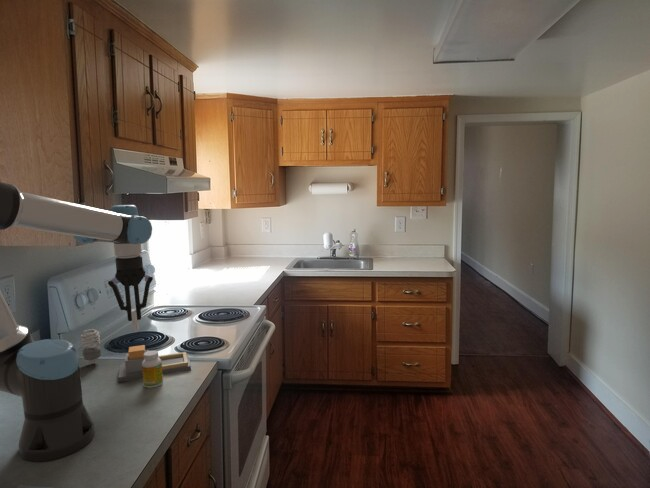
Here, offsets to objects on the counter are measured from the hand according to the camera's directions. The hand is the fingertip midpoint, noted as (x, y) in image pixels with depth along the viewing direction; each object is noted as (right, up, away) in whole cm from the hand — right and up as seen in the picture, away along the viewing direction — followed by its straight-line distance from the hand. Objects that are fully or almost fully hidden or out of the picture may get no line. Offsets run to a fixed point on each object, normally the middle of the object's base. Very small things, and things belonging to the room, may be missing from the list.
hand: (135, 330), depth 142 cm
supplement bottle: (+8, -15, -7) cm, 18 cm away
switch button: (0, -9, +1) cm, 9 cm away
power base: (+5, -13, +4) cm, 15 cm away
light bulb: (-18, -13, +9) cm, 24 cm away
